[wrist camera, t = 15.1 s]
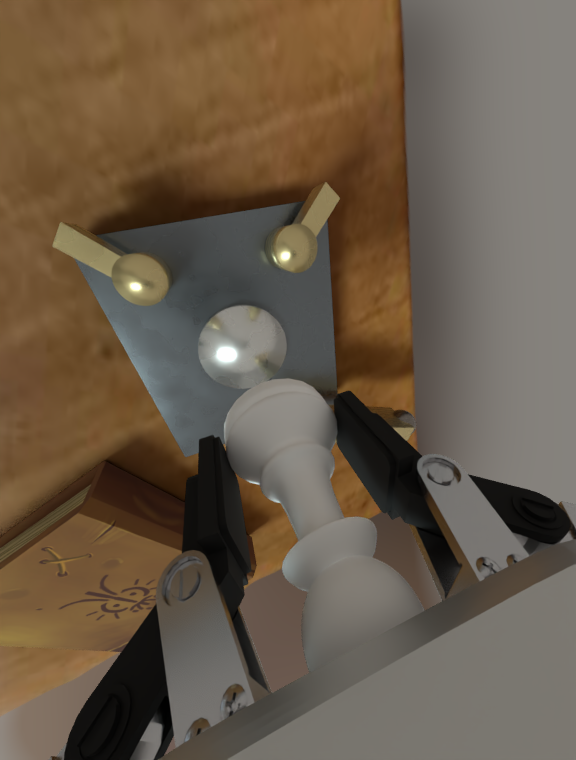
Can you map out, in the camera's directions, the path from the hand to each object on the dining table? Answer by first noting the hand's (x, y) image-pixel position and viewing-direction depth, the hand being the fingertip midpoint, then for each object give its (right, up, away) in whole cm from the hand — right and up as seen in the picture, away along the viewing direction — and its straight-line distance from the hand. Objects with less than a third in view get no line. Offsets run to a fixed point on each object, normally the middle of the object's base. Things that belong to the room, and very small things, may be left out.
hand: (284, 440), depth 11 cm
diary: (-19, -17, +19) cm, 32 cm away
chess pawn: (0, +1, +1) cm, 2 cm away
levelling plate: (-4, +6, +11) cm, 13 cm away
